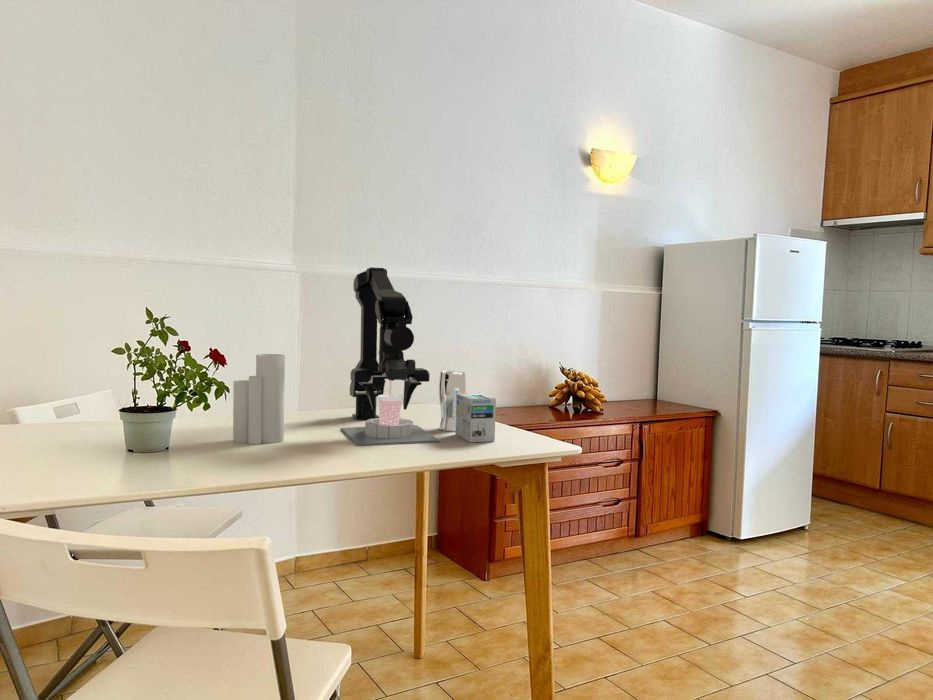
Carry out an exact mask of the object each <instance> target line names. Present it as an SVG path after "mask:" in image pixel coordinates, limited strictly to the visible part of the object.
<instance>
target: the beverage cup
mask: <svg viewBox="0 0 933 700" xmlns="http://www.w3.org/2000/svg"><path fill="white" fill-rule="evenodd" d="M388 381H389V389H388V393H386V394H384V393H383V395H378V396H377V400H378V416H379V422H380V425H399V420H400V418H401V406H402V405H401V404H402V401H403V395H399V394H392V381H391V380H388Z"/></svg>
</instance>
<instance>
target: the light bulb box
mask: <svg viewBox="0 0 933 700" xmlns="http://www.w3.org/2000/svg"><path fill="white" fill-rule="evenodd" d="M496 400H497V398H495V397H491V396H489V395H486V394H483V393H480V392H465V393H456V431H455V436H458V437H460V438H461V439H463V440H465V441H466V442H469V443H483V442H484V443H489V442H495V439H496V405H497V402H496Z"/></svg>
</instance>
